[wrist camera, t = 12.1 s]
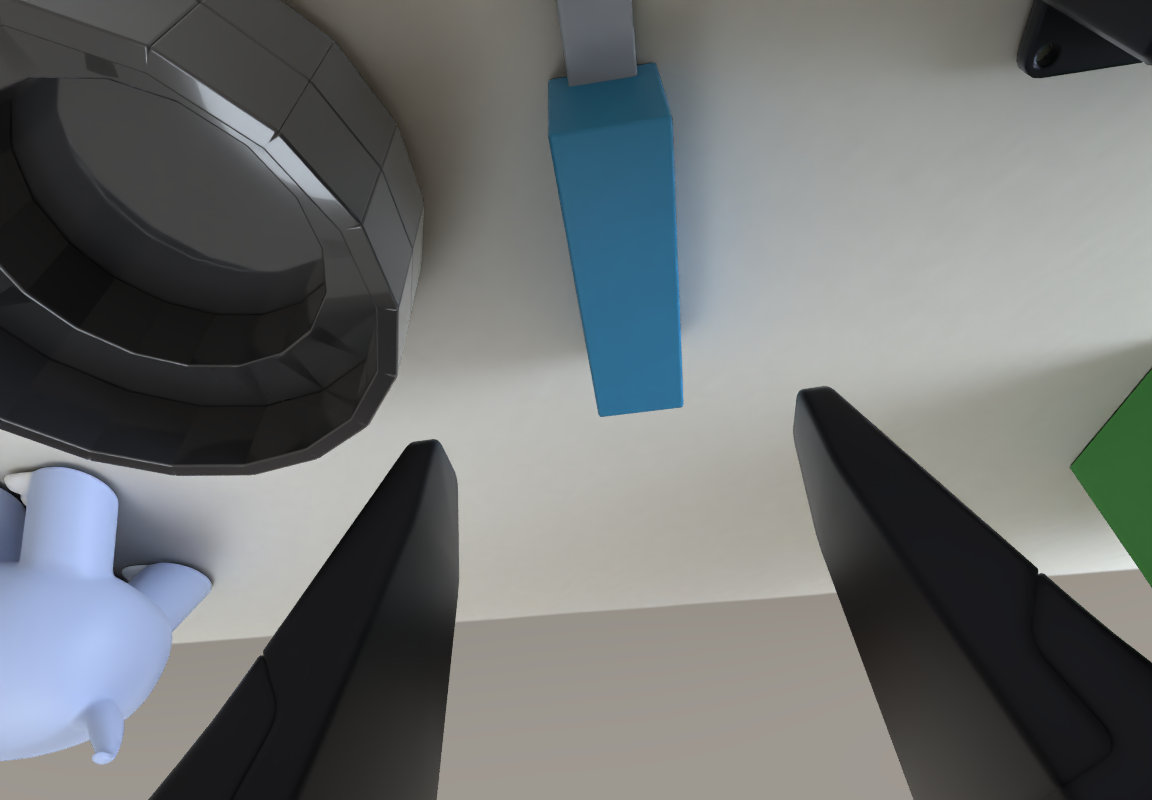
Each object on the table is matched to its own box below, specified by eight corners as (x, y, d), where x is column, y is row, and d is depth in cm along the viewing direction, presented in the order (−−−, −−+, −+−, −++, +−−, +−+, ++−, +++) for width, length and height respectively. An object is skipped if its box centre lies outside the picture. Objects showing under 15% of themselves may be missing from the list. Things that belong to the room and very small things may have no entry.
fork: (683, 340, 22) (697, 406, 20) (582, 353, 22) (586, 419, 20) (657, -359, 11) (685, -371, 9) (455, -315, 11) (435, -318, 9)
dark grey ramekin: (312, -145, 13) (226, -87, 9) (474, 331, 21) (460, 451, 18) (-244, -35, 14) (-508, 54, 10) (129, 377, 22) (55, 499, 19)
